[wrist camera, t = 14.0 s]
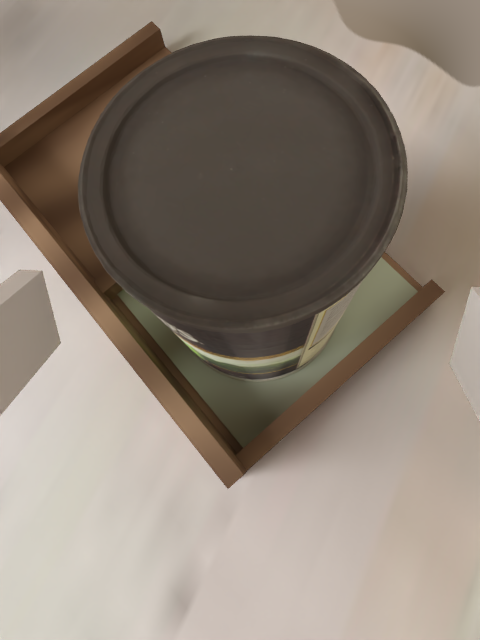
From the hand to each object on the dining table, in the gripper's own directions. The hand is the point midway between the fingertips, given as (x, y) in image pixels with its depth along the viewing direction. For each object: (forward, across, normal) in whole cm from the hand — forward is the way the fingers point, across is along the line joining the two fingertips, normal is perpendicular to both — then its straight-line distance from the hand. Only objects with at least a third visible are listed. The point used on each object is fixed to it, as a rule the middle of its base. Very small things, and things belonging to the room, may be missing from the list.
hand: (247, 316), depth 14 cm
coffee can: (+12, 0, -6) cm, 14 cm away
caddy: (+16, -5, -3) cm, 17 cm away
